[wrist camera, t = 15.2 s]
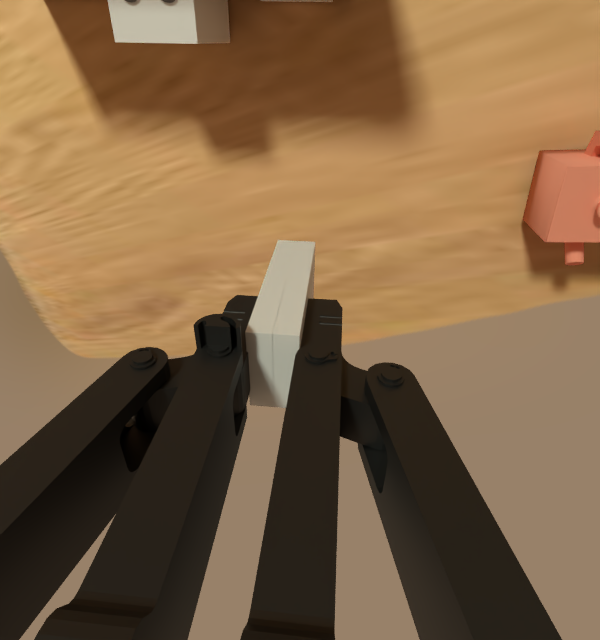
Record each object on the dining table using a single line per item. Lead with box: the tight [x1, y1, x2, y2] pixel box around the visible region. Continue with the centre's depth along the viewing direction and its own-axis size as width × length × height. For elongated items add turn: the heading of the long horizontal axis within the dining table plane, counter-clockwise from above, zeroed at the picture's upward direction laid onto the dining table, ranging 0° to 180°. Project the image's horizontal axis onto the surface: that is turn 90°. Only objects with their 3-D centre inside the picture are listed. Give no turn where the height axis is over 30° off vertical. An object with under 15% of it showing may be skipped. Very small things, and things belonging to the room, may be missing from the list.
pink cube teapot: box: [523, 131, 600, 265], centre depth 40 cm, size 8×12×8 cm, turn 2°
